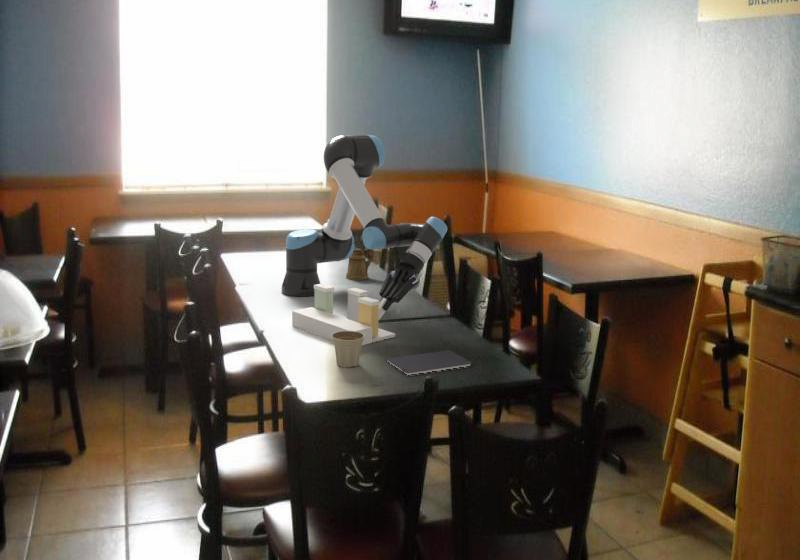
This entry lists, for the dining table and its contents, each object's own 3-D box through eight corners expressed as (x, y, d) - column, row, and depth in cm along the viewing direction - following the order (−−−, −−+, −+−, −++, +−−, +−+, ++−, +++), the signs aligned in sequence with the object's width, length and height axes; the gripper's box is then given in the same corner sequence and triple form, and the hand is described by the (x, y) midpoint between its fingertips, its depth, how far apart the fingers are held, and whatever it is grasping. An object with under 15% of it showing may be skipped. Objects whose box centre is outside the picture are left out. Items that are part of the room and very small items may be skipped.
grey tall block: (354, 320, 271) (355, 287, 268) (367, 324, 267) (368, 291, 264) (346, 322, 269) (347, 289, 266) (359, 326, 264) (360, 292, 262)
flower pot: (331, 358, 237) (331, 330, 235) (363, 359, 237) (364, 330, 236) (331, 369, 228) (331, 340, 226) (364, 369, 228) (365, 340, 226)
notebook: (449, 354, 245) (386, 363, 236) (450, 349, 245) (386, 358, 235) (472, 368, 234) (406, 378, 225) (472, 362, 234) (406, 372, 224)
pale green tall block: (321, 315, 275) (321, 283, 273) (333, 319, 271) (334, 287, 268) (313, 317, 273) (313, 284, 270) (325, 321, 268) (326, 288, 266)
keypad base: (334, 316, 280) (334, 302, 279) (395, 336, 260) (395, 321, 258) (292, 325, 268) (292, 310, 267) (352, 347, 247) (352, 331, 246)
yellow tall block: (365, 330, 260) (366, 296, 257) (378, 335, 255) (379, 300, 253) (357, 332, 258) (357, 298, 255) (370, 337, 253) (371, 302, 251)
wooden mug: (379, 280, 336) (381, 236, 331) (347, 280, 333) (347, 236, 329) (377, 275, 344) (378, 232, 340) (345, 275, 342) (345, 232, 338)
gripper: (434, 269, 263) (396, 328, 255) (406, 262, 272) (368, 319, 265) (424, 255, 258) (384, 314, 251) (395, 248, 267) (356, 305, 260)
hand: (375, 316), depth 258 cm, fingers closed
